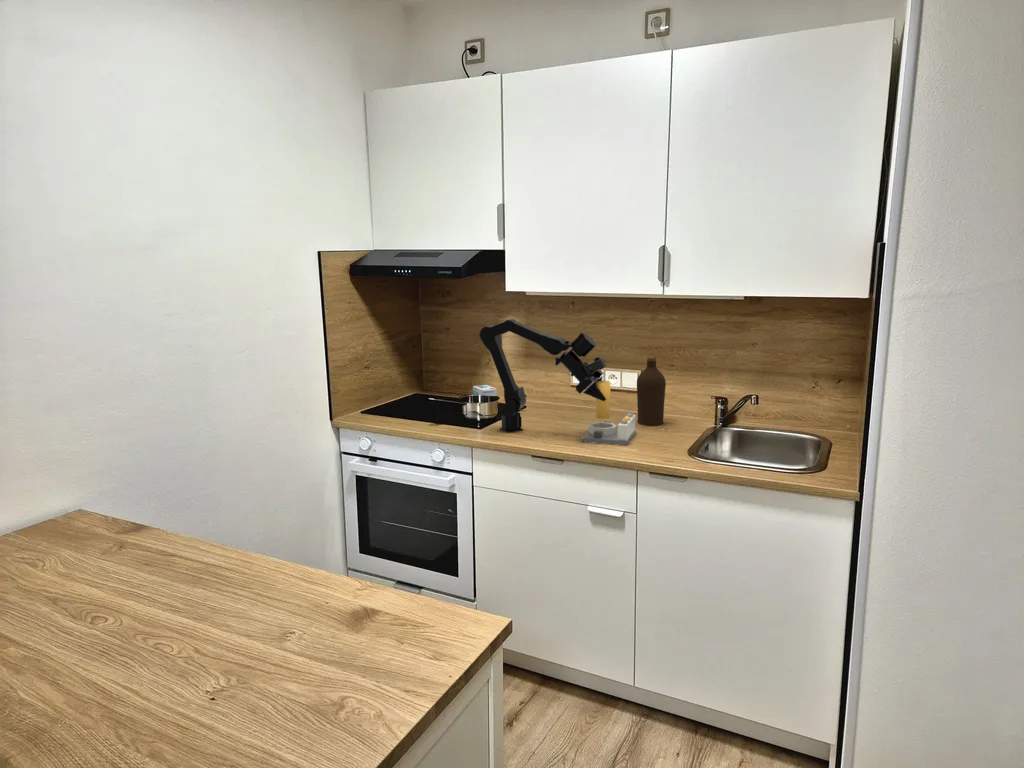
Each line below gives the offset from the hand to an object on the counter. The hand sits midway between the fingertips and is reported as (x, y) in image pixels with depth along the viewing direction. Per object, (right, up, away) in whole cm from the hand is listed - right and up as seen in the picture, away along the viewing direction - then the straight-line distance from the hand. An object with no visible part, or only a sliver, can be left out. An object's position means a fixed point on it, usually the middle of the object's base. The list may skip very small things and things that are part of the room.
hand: (606, 398), depth 235 cm
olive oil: (+19, -10, +21) cm, 30 cm away
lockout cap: (-1, -6, +2) cm, 7 cm away
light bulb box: (-44, -7, +42) cm, 61 cm away
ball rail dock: (+1, -13, +2) cm, 13 cm away
